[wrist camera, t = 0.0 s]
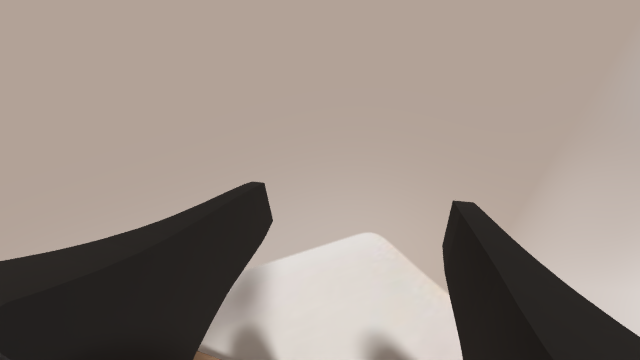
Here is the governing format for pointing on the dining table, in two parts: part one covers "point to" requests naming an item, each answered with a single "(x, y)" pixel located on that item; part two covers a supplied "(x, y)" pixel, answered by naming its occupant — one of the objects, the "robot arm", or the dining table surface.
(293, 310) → the dining table surface
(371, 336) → the dining table surface
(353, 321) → the dining table surface
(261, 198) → the robot arm
